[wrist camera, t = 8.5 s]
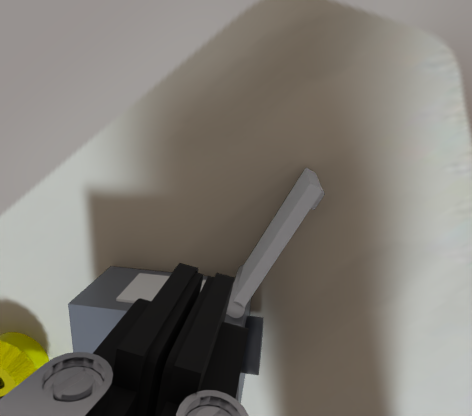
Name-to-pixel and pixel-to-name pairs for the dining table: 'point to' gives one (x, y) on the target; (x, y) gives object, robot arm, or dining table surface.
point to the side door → (274, 240)
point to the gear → (18, 359)
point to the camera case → (123, 297)
